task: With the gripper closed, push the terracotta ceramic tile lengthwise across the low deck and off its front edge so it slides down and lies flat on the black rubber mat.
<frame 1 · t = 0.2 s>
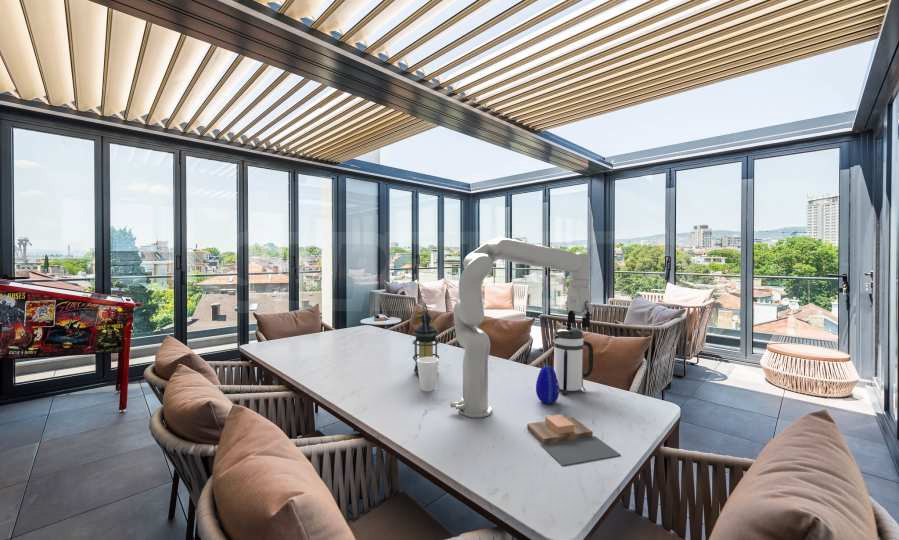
hand: (578, 324, 158), 31 cm above the table, tool pointing down, fingers open, 9 cm apart
tile: (559, 427, 130), point 2 cm above the table, touching deck
coffee press: (569, 389, 170), on the table
lantern: (425, 373, 192), on the table
ornament: (547, 402, 156), on the table
mat: (579, 450, 119), on the table
deck: (559, 433, 130), on the table
foam cup: (427, 389, 171), on the table
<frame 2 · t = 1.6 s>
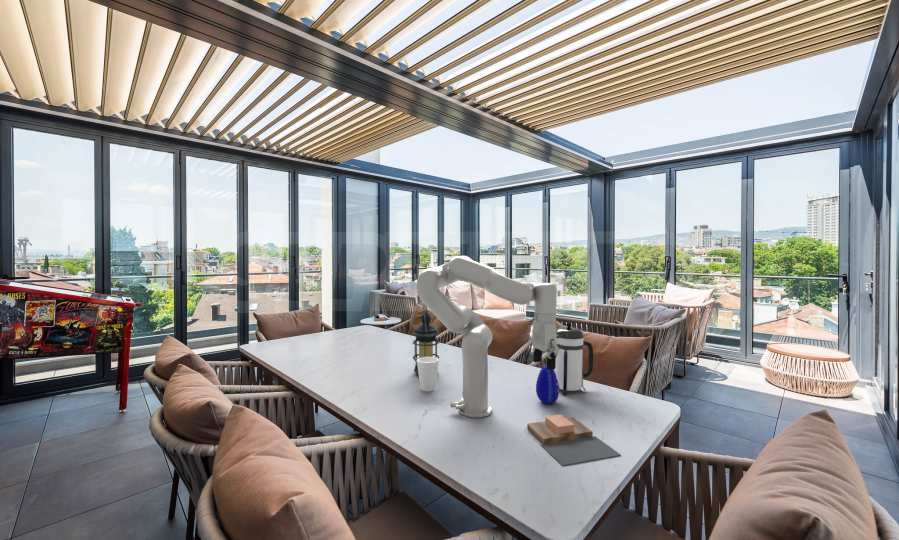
hand: (544, 365, 139), 20 cm above the table, tool pointing down, fingers open, 8 cm apart
nothing on the table moved.
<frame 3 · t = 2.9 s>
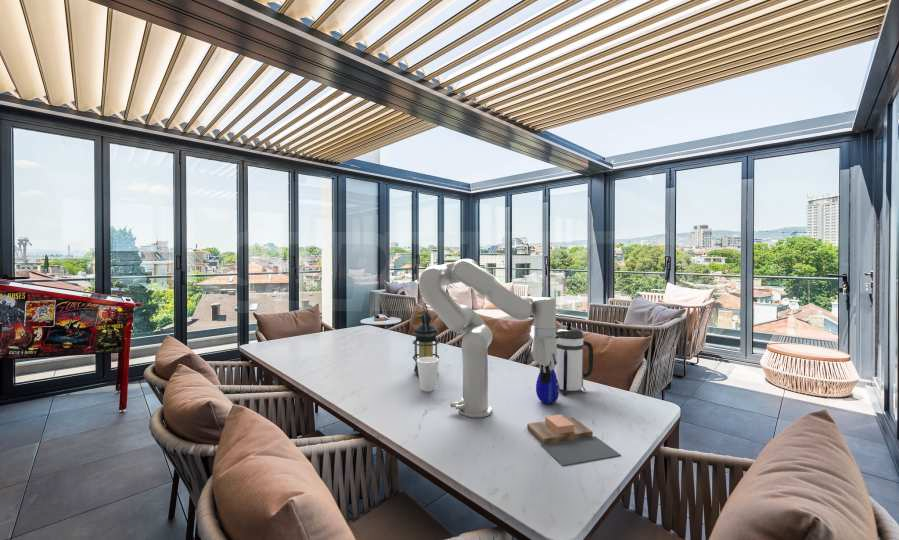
hand: (545, 382, 139), 14 cm above the table, tool pointing down, fingers closed
nothing on the table moved.
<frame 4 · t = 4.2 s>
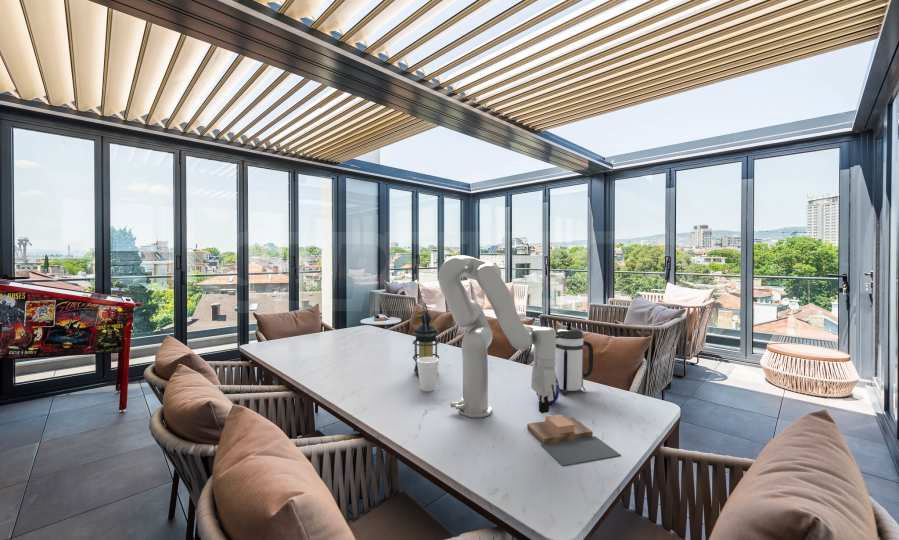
hand: (543, 411, 139), 3 cm above the table, tool pointing down, fingers closed
nothing on the table moved.
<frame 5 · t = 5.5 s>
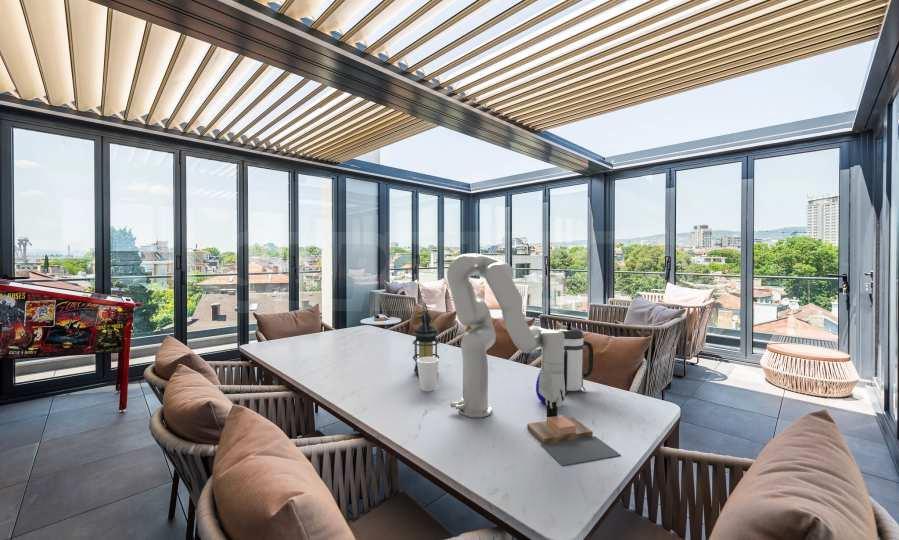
hand: (551, 417, 134), 3 cm above the table, tool pointing down, fingers closed
tile: (560, 428, 129), point 2 cm above the table, touching gripper
everything else where it was.
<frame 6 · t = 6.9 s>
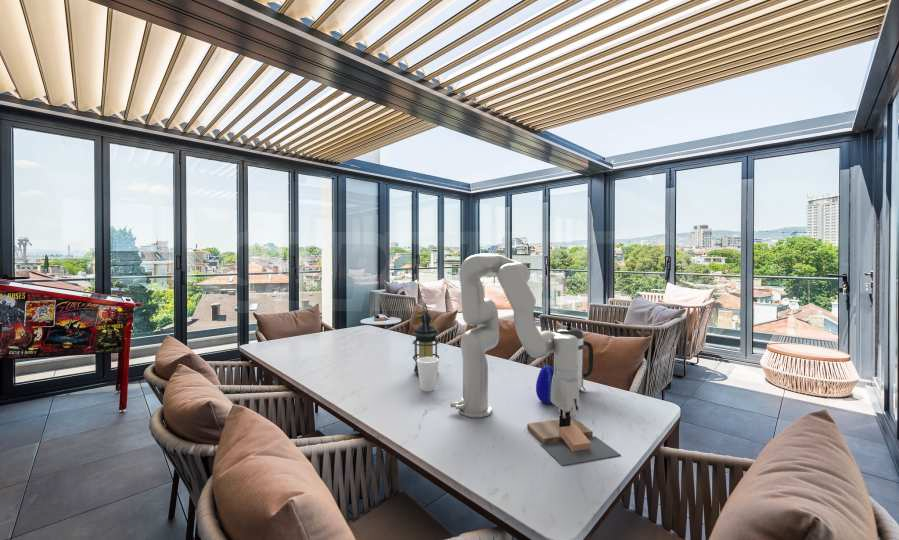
hand: (564, 428, 127), 3 cm above the table, tool pointing down, fingers closed
tile: (573, 440, 122), point 1 cm above the table, tilted 15°, touching gripper
everything else where it was.
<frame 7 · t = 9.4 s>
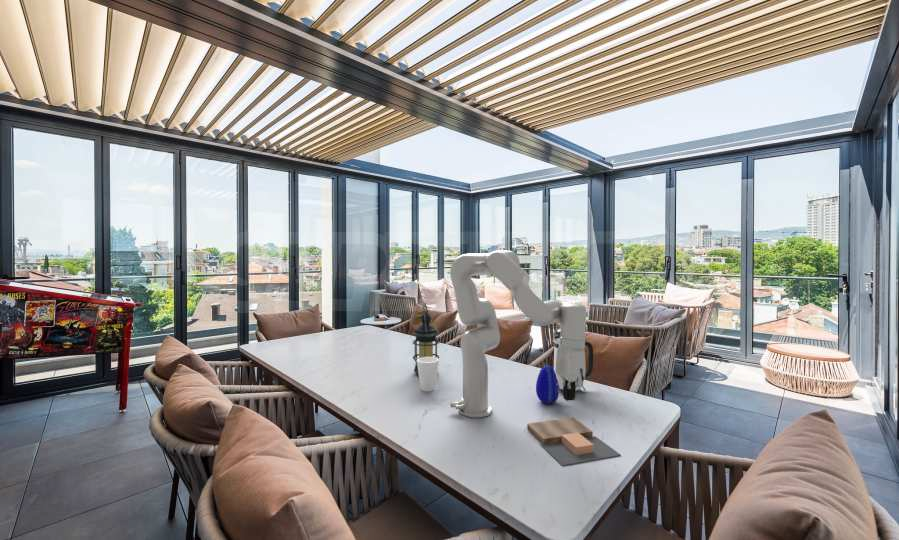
hand: (569, 399, 123), 14 cm above the table, tool pointing down, fingers closed
tile: (577, 447, 120), resting on mat
everything else where it was.
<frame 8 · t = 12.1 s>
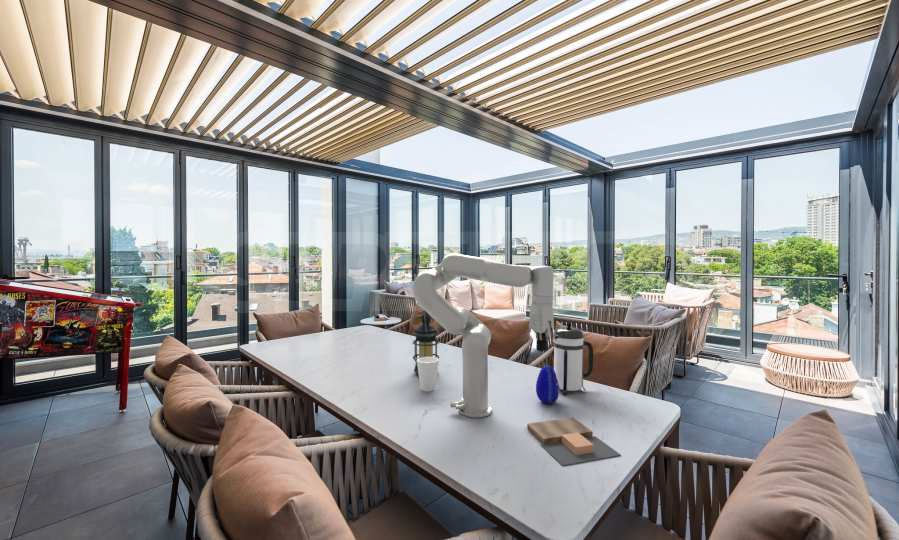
hand: (541, 350, 140), 25 cm above the table, tool pointing down, fingers closed
nothing on the table moved.
at the end: tile inside the target area (2.5 cm from its centre), resting on mat; tile tilted 0°; tile touching mat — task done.
